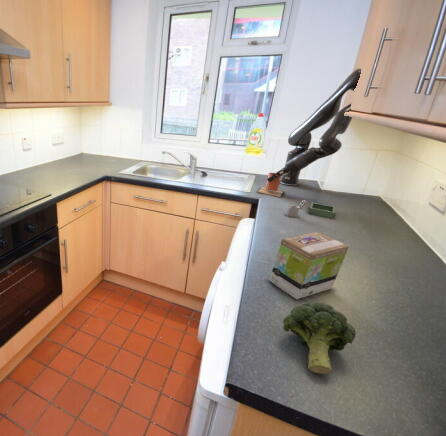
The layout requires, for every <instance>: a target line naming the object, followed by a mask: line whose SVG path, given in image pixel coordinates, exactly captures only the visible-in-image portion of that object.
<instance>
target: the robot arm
mask: <svg viewBox="0 0 446 436" xmlns="http://www.w3.org/2000/svg"><path fill="white" fill-rule="evenodd" d="M361 69H362V68H356V69H354V70H353V71H352V72H351V73H350V74H349V75H348V76H347V77H346V78H345V80H344V81H343V82H341V84H340V85H339V87H338V88H337V89H336V90H335V91H334V92H333V93H332V94H331V95H330V96H329V97H328V98H327V99H326V100H325V101H324V102H323V103H322V104H320V106H319V107H318V108H317V109H316V110H315V111H314V112H313V113H312V114H311V115H310V116H309V117H308V118H307V119H306V120H305V121H304V122H302V123H301V124H300V125H299V126H298V127H297V128H294V130H293V131H292V132H291V133H290V134H289V136H288V139H287V143H288V144H289V145H290V146H292V147H295V148H294V149H292V150H289V151H288V153H287V155H286V159H285V163H284V167H282V168H281V169H280V170H278V171H276V172H274V173H275V174H273V176H271V177H270V178H268V177H267V178H266V181H267V180H268V182H271V181H273V180H274V179H277V178H278V177H281V179H280V183H279V184H282V185H285V186H291V187H293V186H297V185H298V182H299V178H300V174H301V171H302V170H303V169H305V168H306V167H308V166H309V165H311V164H313V163H315V162H316V161H317V160H319V159H323V158H327V157H329V156H332V155H334V154H336V153H337V152H339V150H341V149H342V146H343V143H342V141H340V139H338V138H337V136H338V135H343V134H344V133H346V131H347V129H348V128H349V126H350V124H351V122H352V120H353V118H352V117H349V116H344V113H345V112H349V111H351V103H352V102H350V103H349V104H347V105H346V106H343V108H341V105H342V100H343V98H344V96H345V94H346V93H347V92H348V91H349V90H350V91H353V92H355V91H354V89H355V88H356V86H357V83H358V80H359V78H360V74H361ZM331 120H332V122H331V124H330V125H329V127H328V128H327V129H326V130H325V132H324V133H323V134H322V135H321V136H320V138H319V140H318V146H319V147H315V146H312V147H310V145H311V142H312V138H313V137H312V133H311V132H313V131H315V130H316V129H319V128H321V127H323V126H325V125H327V124H328V123H330V121H331ZM276 174H277V175H278V176H277V177H276Z"/></svg>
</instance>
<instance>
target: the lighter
mask: <svg viewBox="0 0 446 436" xmlns="http://www.w3.org/2000/svg"><path fill="white" fill-rule="evenodd" d="M307 204H308V201H307V200H305V199H303V200H302V201H301V202H300V204H298V205H296V204H292V205H291V206H288V207H287V211H286V217H292V218H293V217H294V218H297V217H298V213H299V210H303V209H304V208H305V206H306V205H307Z"/></svg>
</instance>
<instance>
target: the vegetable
mask: <svg viewBox="0 0 446 436" xmlns="http://www.w3.org/2000/svg"><path fill="white" fill-rule="evenodd" d="M282 323H283V326H282V329H283V331H284V332H291V333H292V334H294V335H295V336H297V337H298V338H299V339H300V340H301V341H302V342H303V343H306V345H307V347H308V348H309V351H308V356H307V357H308V358H307V359H308V367H307V369H308V370H309V371H310V372H312V373H314V374H319V375H328V374H330V373H332V372H333V368H332V365H331V361H330V360H331V358H330V357H329V350H330V351H337V352H341V351H343V350H345V348H346V347H345V346H347V344H350V345H351V344H352V343H353V342H354V340H355V338H356V335H357V333H356V328H355V327H354V326H353V325H352V324H351V323H349V322H348V318H347V317H346V316H345V314H343V313H342V312H341V311H339V310H337V309H335V308H334V306H332V305H331V304H328V303H325V302H320V301H314V302H309V301H306V302H302V303H301V305H297V306H294V307H292V309H291V310H290V314H288V313H287V315H286V316H285V317H284V318H283V321H282Z"/></svg>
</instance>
